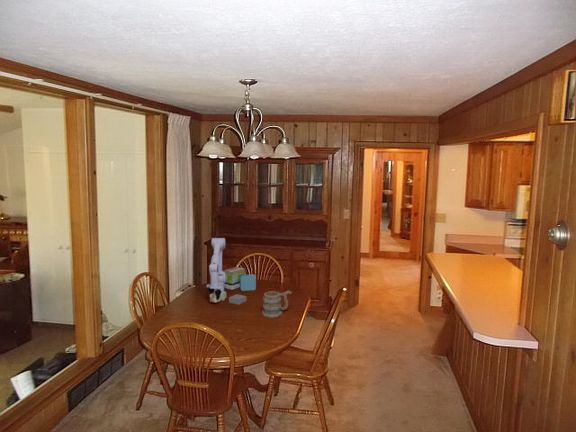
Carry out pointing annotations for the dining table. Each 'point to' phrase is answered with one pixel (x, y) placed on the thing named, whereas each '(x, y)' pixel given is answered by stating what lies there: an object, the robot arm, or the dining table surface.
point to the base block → (237, 299)
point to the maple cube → (213, 298)
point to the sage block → (222, 295)
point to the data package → (248, 282)
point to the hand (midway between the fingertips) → (215, 298)
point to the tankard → (274, 303)
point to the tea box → (233, 277)
